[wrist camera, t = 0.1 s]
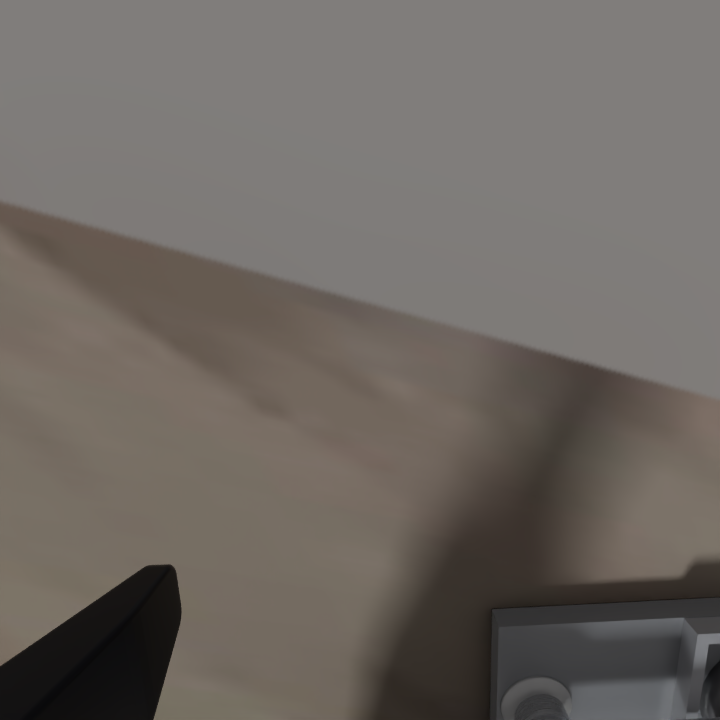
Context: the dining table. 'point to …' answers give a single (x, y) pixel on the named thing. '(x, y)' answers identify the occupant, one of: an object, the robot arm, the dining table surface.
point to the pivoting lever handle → (549, 709)
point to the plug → (711, 694)
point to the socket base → (606, 658)
